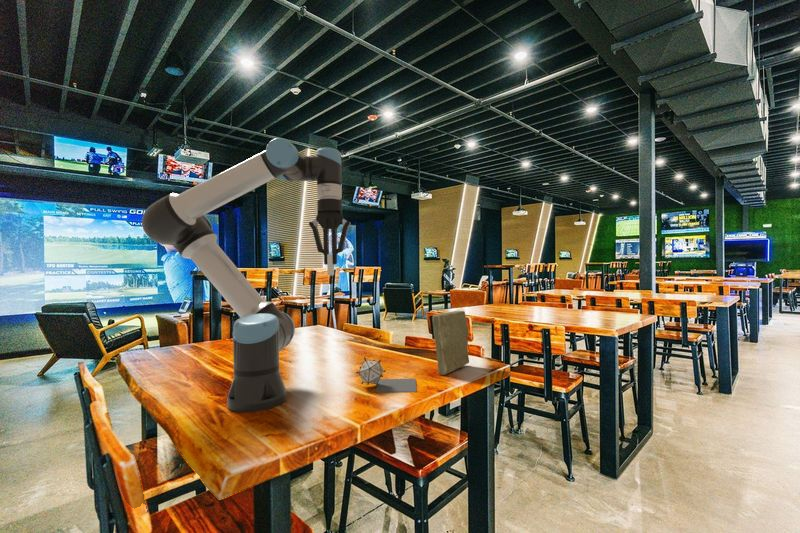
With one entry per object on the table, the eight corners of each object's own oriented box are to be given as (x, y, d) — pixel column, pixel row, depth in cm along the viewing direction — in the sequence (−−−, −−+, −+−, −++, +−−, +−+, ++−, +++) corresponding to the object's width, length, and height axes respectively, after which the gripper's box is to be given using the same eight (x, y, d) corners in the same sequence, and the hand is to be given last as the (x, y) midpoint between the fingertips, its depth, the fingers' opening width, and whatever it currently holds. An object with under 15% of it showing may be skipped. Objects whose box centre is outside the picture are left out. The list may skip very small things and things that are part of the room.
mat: (375, 393, 106) (375, 392, 106) (378, 380, 118) (378, 379, 118) (416, 392, 106) (416, 391, 106) (415, 379, 118) (415, 378, 118)
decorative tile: (447, 376, 121) (446, 316, 121) (432, 373, 124) (431, 315, 124) (472, 364, 136) (472, 310, 136) (458, 361, 139) (457, 309, 139)
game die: (375, 388, 116) (394, 364, 115) (370, 399, 108) (390, 373, 107) (353, 370, 117) (372, 346, 116) (346, 379, 108) (366, 354, 107)
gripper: (305, 197, 110) (306, 275, 110) (348, 197, 110) (350, 275, 110) (311, 202, 118) (312, 275, 118) (352, 201, 118) (353, 274, 118)
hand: (330, 275), depth 114 cm, fingers closed
